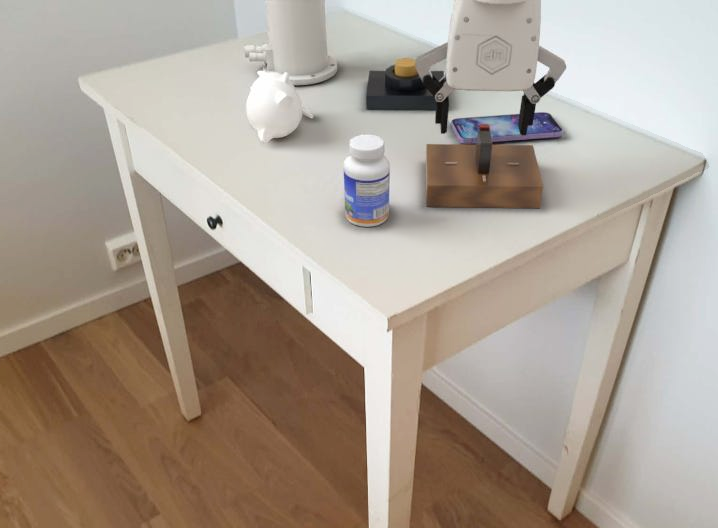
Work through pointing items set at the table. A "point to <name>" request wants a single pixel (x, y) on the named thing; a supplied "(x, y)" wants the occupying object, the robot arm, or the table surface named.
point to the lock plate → (482, 177)
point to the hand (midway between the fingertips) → (482, 129)
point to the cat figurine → (274, 106)
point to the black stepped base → (398, 91)
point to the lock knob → (483, 148)
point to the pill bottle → (366, 181)
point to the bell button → (405, 67)
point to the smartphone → (506, 127)
